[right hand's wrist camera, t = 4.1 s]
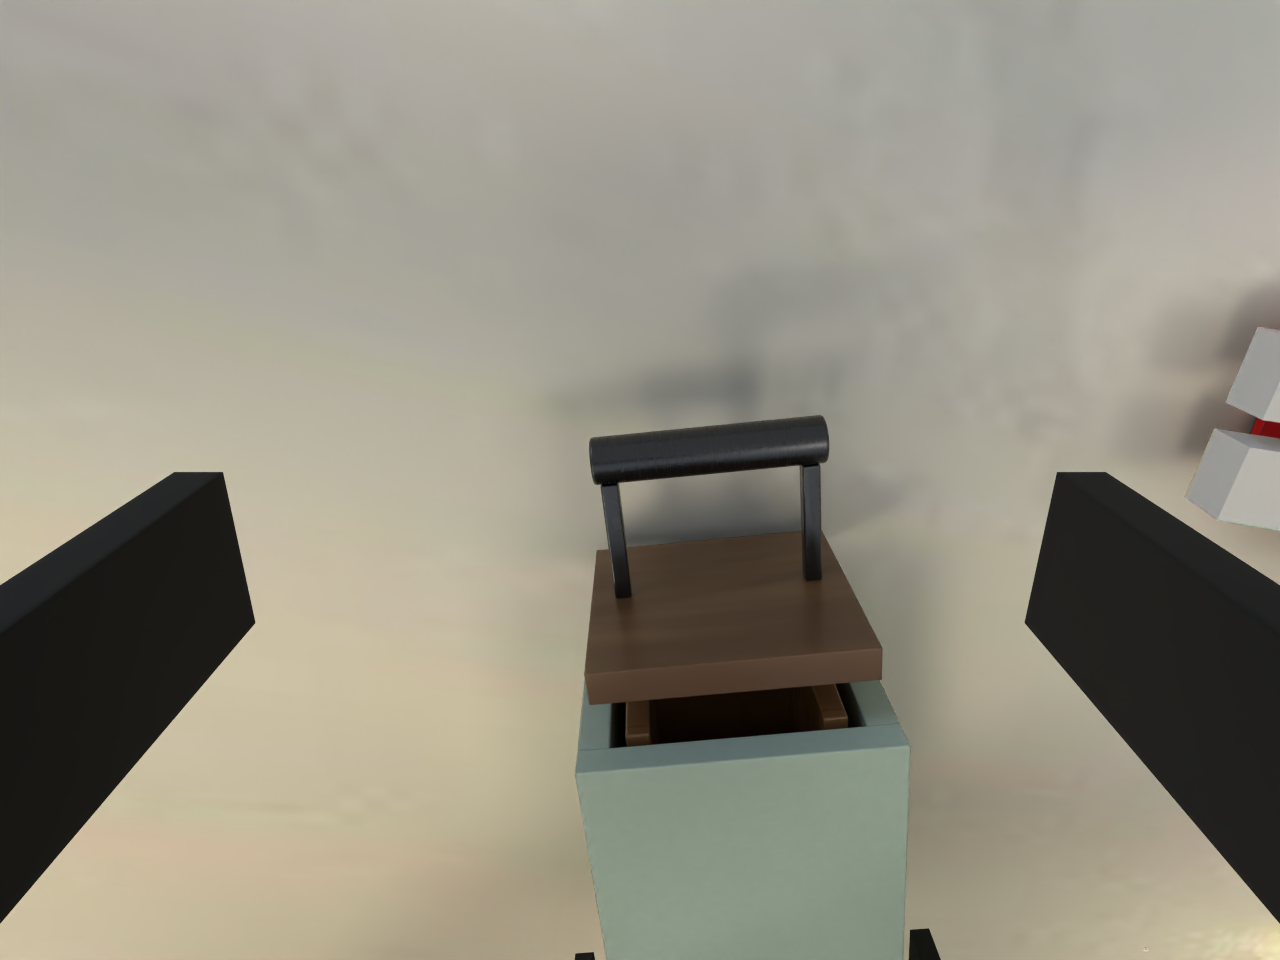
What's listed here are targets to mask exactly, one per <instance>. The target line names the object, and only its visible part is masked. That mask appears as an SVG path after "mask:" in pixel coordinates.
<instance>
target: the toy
mask: <svg viewBox="0 0 1280 960" xmlns="http://www.w3.org/2000/svg"><path fill="white" fill-rule="evenodd" d="M1225 403H1228V404H1230V405H1232V406H1234V407H1236V408H1238V409H1240V410H1242V411H1245V412H1247V413H1249V414H1251V415H1253V416H1255V417H1257V419H1256V422H1255V424H1254V426H1253V429H1252V431H1251V433H1250V434H1247V433H1241V432H1234V431H1228V430H1222V429H1215V428H1214V430H1213V432H1212V435H1211V437H1210V439H1209V442H1208V444H1207V446H1206V449H1205V451H1204V453H1203V456H1202V458H1201V460H1200V462H1199V465H1198V467H1197V469H1196V472H1195V474H1194V476H1193V479H1192V481H1191V483H1190V486H1189V488H1188V490H1187V493H1186V495H1185V497H1186V498H1187V499H1188V500H1190V501H1191V502H1192V503H1194V504H1195V505H1197V506H1198V507H1199V508H1201V509H1202V510H1203V511H1205V512H1206V513H1207V514H1209V515H1210V516H1212V517H1213V518H1214V519H1216V520H1217V521H1223V522H1229V523H1235V524H1241V525H1247V526H1253V527H1259V528H1265V529H1272V530H1278V531H1280V330H1276V329H1270V328H1263V327H1258V328H1257V330H1256V332H1255V335H1254V337H1253V339H1252V342H1251V344H1250V346H1249V349H1248V351H1247V353H1246V356H1245V358H1244V360H1243V363H1242V365H1241V367H1240V370H1239V372H1238V374H1237V376H1236V379H1235V381H1234V383H1233V386H1232V388H1231V390H1230V393H1229V395H1228V397H1227V400H1226V402H1225Z"/></svg>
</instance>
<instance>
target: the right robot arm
mask: <svg viewBox="0 0 1280 960" xmlns="http://www.w3.org/2000/svg"><path fill="white" fill-rule="evenodd" d="M254 624H255V619H254V614H253V610H252V605H251V600H250V596H249V591H248V586H247V582H246V577H245V572H244V568H243V563H242V559H241V554H240V549H239V545H238V540H237V535H236V531H235V526H234V521H233V517H232V512H231V507H230V503H229V498H228V493H227V489H226V484H225V480H224V475H223V472H174V473H172V474H171V475H169V476H168V477H166V478H165V479H163V480H162V481H160V482H158V483H157V484H155V485H154V486H152V487H151V488H149V489H148V490H146V491H145V492H143V493H142V494H140V495H138V496H137V497H135V498H134V499H132V500H131V501H129V502H128V503H126V504H125V505H123V506H122V507H120V508H118V509H117V510H115V511H114V512H112V513H111V514H109V515H108V516H106V517H105V518H103V519H102V520H100V521H98V522H97V523H95V524H94V525H92V526H91V527H89V528H88V529H86V530H85V531H83V532H82V533H80V534H78V535H77V536H75V537H74V538H72V539H71V540H69V541H68V542H66V543H65V544H63V545H62V546H60V547H58V548H57V549H55V550H54V551H52V552H51V553H49V554H48V555H46V556H45V557H43V558H42V559H40V560H38V561H37V562H35V563H34V564H32V565H31V566H29V567H28V568H26V569H25V570H23V571H22V572H20V573H18V574H17V575H15V576H14V577H12V578H11V579H9V580H8V581H6V582H5V583H3V584H2V585H0V923H1V922H2V921H3V920H4V918H5V917H6V916H7V915H8V914H9V913H10V911H11V910H12V909H13V908H14V907H15V905H16V904H17V903H18V902H19V901H20V900H21V898H22V897H23V896H24V895H25V894H26V893H27V891H28V890H29V889H30V888H31V887H32V885H33V884H34V883H35V882H36V881H37V880H38V878H39V877H40V876H41V875H42V874H43V872H44V871H45V870H46V869H47V868H48V867H49V865H50V864H51V863H52V862H53V861H54V860H55V858H56V857H57V856H58V855H59V854H60V852H61V851H62V850H63V849H64V848H65V847H66V845H67V844H68V843H69V842H70V841H71V839H72V838H73V837H74V836H75V835H76V834H77V832H78V831H79V830H80V829H81V828H82V827H83V825H84V824H85V823H86V822H87V821H88V819H89V818H90V817H91V816H92V815H93V814H94V812H95V811H96V810H97V809H98V808H99V806H100V805H101V804H102V803H103V802H104V801H105V799H106V798H107V797H108V796H109V795H110V794H111V792H112V791H113V790H114V789H115V788H116V786H117V785H118V784H119V783H120V782H121V781H122V779H123V778H124V777H125V776H126V775H127V773H128V772H129V771H130V770H131V769H132V768H133V766H134V765H135V764H136V763H137V762H138V761H139V759H140V758H141V757H142V756H143V755H144V753H145V752H146V751H147V750H148V749H149V748H150V746H151V745H152V744H153V743H154V742H155V740H156V739H157V738H158V737H159V736H160V735H161V733H162V732H163V731H164V730H165V729H166V728H167V726H168V725H169V724H170V723H171V722H172V720H173V719H174V718H175V717H176V716H177V715H178V713H179V712H180V711H181V710H182V709H183V707H184V706H185V705H186V704H187V703H188V702H189V700H190V699H191V698H192V697H193V696H194V695H195V693H196V692H197V691H198V690H199V689H200V687H201V686H202V685H203V684H204V683H205V682H206V680H207V679H208V678H209V677H210V676H211V674H212V673H213V672H214V671H215V670H216V669H217V667H218V666H219V665H220V664H221V663H222V662H223V660H224V659H225V658H226V657H227V656H228V654H229V653H230V652H231V651H232V650H233V649H234V647H235V646H236V645H237V644H238V643H239V641H240V640H241V639H242V638H243V637H244V636H245V634H246V633H247V632H248V631H249V630H250V629H251V627H252V626H253V625H254ZM1025 624H1026V625H1027V626H1028V627H1029V629H1030V630H1031V631H1032V632H1033V633H1034V634H1035V636H1036V637H1037V638H1038V639H1039V640H1040V641H1041V643H1042V644H1043V645H1044V646H1045V647H1046V649H1047V650H1048V651H1049V652H1050V653H1051V654H1052V656H1053V657H1054V658H1055V659H1056V660H1057V662H1058V663H1059V664H1060V665H1061V666H1062V667H1063V669H1064V670H1065V671H1066V672H1067V673H1068V674H1069V676H1070V677H1071V678H1072V679H1073V680H1074V682H1075V683H1076V684H1077V685H1078V686H1079V687H1080V689H1081V690H1082V691H1083V692H1084V693H1085V695H1086V696H1087V697H1088V698H1089V699H1090V700H1091V702H1092V703H1093V704H1094V705H1095V706H1096V707H1097V709H1098V710H1099V711H1100V712H1101V713H1102V715H1103V716H1104V717H1105V718H1106V719H1107V720H1108V722H1109V723H1110V724H1111V725H1112V726H1113V728H1114V729H1115V730H1116V731H1117V732H1118V733H1119V735H1120V736H1121V737H1122V738H1123V739H1124V740H1125V742H1126V743H1127V744H1128V745H1129V746H1130V748H1131V749H1132V750H1133V751H1134V752H1135V753H1136V755H1137V756H1138V757H1139V758H1140V759H1141V761H1142V762H1143V763H1144V764H1145V765H1146V766H1147V768H1148V769H1149V770H1150V771H1151V772H1152V773H1153V775H1154V776H1155V777H1156V778H1157V779H1158V781H1159V782H1160V783H1161V784H1162V785H1163V786H1164V788H1165V789H1166V790H1167V791H1168V792H1169V794H1170V795H1171V796H1172V797H1173V798H1174V799H1175V801H1176V802H1177V803H1178V804H1179V805H1180V806H1181V808H1182V809H1183V810H1184V811H1185V812H1186V814H1187V815H1188V816H1189V817H1190V818H1191V819H1192V821H1193V822H1194V823H1195V824H1196V825H1197V827H1198V828H1199V829H1200V830H1201V831H1202V832H1203V834H1204V835H1205V836H1206V837H1207V838H1208V839H1209V841H1210V842H1211V843H1212V844H1213V845H1214V847H1215V848H1216V849H1217V850H1218V851H1219V852H1220V854H1221V855H1222V856H1223V857H1224V858H1225V860H1226V861H1227V862H1228V863H1229V864H1230V865H1231V867H1232V868H1233V869H1234V870H1235V871H1236V872H1237V874H1238V875H1239V876H1240V877H1241V878H1242V880H1243V881H1244V882H1245V883H1246V884H1247V885H1248V887H1249V888H1250V889H1251V890H1252V891H1253V893H1254V894H1255V895H1256V896H1257V897H1258V898H1259V900H1260V901H1261V902H1262V903H1263V904H1264V905H1265V907H1266V908H1267V909H1268V910H1269V911H1270V913H1271V914H1272V915H1273V916H1274V917H1275V918H1276V920H1277V921H1278V922H1279V923H1280V585H1278V584H1277V583H1275V582H1274V581H1272V580H1271V579H1269V578H1268V577H1266V576H1265V575H1263V574H1262V573H1260V572H1258V571H1257V570H1255V569H1254V568H1252V567H1251V566H1249V565H1248V564H1246V563H1245V562H1243V561H1242V560H1240V559H1238V558H1237V557H1235V556H1234V555H1232V554H1231V553H1229V552H1228V551H1226V550H1225V549H1223V548H1222V547H1220V546H1218V545H1217V544H1215V543H1214V542H1212V541H1211V540H1209V539H1208V538H1206V537H1205V536H1203V535H1202V534H1200V533H1198V532H1197V531H1195V530H1194V529H1192V528H1191V527H1189V526H1188V525H1186V524H1185V523H1183V522H1182V521H1180V520H1178V519H1177V518H1175V517H1174V516H1172V515H1171V514H1169V513H1168V512H1166V511H1165V510H1163V509H1162V508H1160V507H1158V506H1157V505H1155V504H1154V503H1152V502H1151V501H1149V500H1148V499H1146V498H1145V497H1143V496H1142V495H1140V494H1138V493H1137V492H1135V491H1134V490H1132V489H1131V488H1129V487H1128V486H1126V485H1125V484H1123V483H1122V482H1120V481H1118V480H1117V479H1115V478H1114V477H1112V476H1111V475H1109V474H1108V473H1106V472H1057V475H1056V480H1055V484H1054V489H1053V493H1052V498H1051V503H1050V507H1049V512H1048V517H1047V521H1046V526H1045V531H1044V535H1043V540H1042V545H1041V549H1040V554H1039V559H1038V563H1037V568H1036V572H1035V577H1034V582H1033V586H1032V591H1031V596H1030V600H1029V605H1028V610H1027V614H1026V619H1025Z"/></svg>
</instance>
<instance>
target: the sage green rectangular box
mask: <svg viewBox="0 0 1280 960" xmlns="http://www.w3.org/2000/svg"><path fill="white" fill-rule="evenodd" d="M835 685H836V688H837V690H838V693H839V696H840V698H841V701H842V703H843V706H844V708H845V711H846V714H847V716H848V728H842V729H831V730H819V731H807V732H795V733H784V734H772V735H760V736H749V737H737V738H725V739H713V740H702V741H690V742H678V743H667V744H655V745H643V746H631V747H627V745H626V738H625V727H626V702H621V703H610V704H599V705H589V702H588V695H587V689H586V683H585V681H584V691H583V701H582V711H581V721H580V731H579V741H578V753H577V760H576V770H575V777H576V782H577V788H578V794H579V800H580V806H581V812H582V818H583V824H584V830H585V835H586V841H587V847H588V853H589V859H590V865H591V871H592V877H593V883H594V889H595V894H596V900H597V906H598V912H599V918H600V924H601V930H602V936H603V942H604V947H605V953H606V959H607V960H903V948H904V919H905V890H906V862H907V833H908V805H909V776H910V748H911V746H910V744H909V742H908V740H907V737H906V735H905V733H904V731H903V729H902V727H901V725H900V722H899V720H898V718H897V716H896V714H895V712H894V710H893V708H892V706H891V704H890V701H889V699H888V697H887V695H886V693H885V691H884V689H883V687H882V685H881V683H880V680H873V681H862V682H850V683H839V684H835Z"/></svg>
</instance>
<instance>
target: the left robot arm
mask: <svg viewBox="0 0 1280 960" xmlns="http://www.w3.org/2000/svg"><path fill="white" fill-rule="evenodd" d="M575 960H595V957H594V952H591V953H577V954H575ZM909 960H941V959H940V957H939V954H938V951H937V949H936V946H935V943H934V941H933V938H932V935H931V933H930V930H929V929H916V930H910V945H909Z"/></svg>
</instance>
